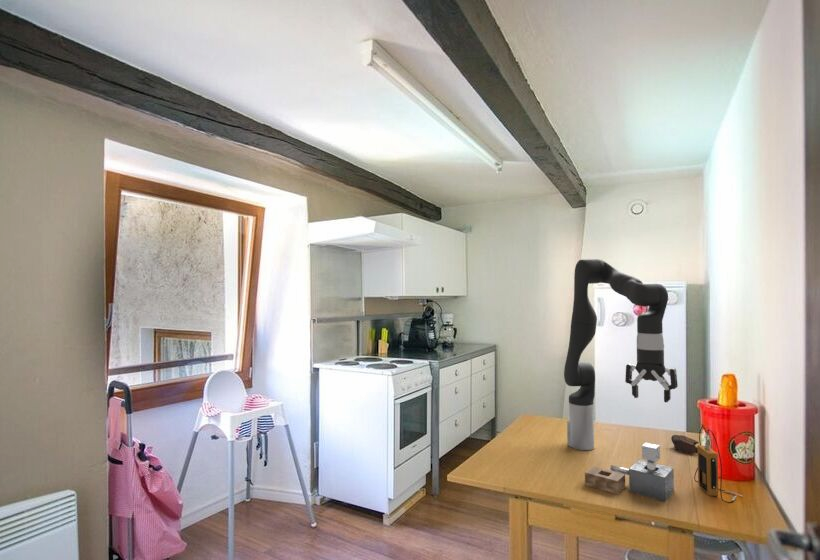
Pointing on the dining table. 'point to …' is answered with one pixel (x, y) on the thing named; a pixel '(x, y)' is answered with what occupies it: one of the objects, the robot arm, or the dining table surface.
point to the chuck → (649, 480)
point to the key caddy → (605, 480)
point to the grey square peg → (651, 455)
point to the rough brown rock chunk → (684, 444)
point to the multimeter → (709, 469)
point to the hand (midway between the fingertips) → (651, 399)
